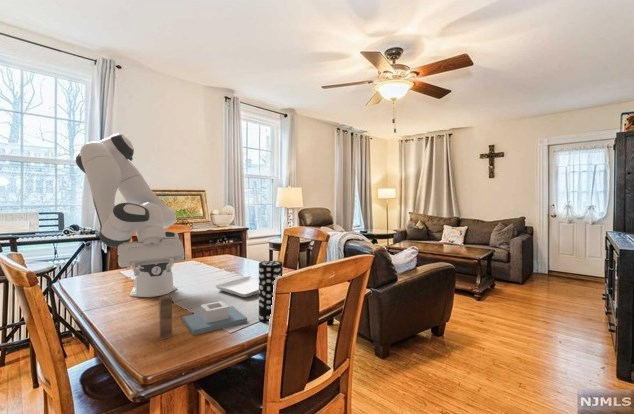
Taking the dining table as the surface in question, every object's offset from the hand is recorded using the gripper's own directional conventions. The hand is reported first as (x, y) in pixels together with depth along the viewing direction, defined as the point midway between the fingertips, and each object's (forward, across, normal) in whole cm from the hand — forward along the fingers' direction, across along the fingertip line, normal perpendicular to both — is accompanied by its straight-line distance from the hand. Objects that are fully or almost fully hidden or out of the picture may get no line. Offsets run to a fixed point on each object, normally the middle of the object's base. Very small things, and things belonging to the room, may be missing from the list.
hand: (153, 273), depth 103 cm
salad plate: (-4, +38, +32) cm, 50 cm away
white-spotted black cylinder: (+22, +36, +5) cm, 43 cm away
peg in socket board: (+17, +18, +9) cm, 26 cm away
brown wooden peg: (+20, +3, +5) cm, 21 cm away
